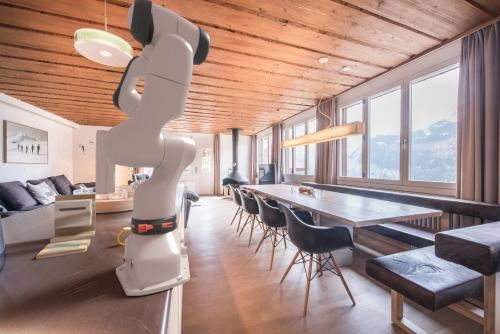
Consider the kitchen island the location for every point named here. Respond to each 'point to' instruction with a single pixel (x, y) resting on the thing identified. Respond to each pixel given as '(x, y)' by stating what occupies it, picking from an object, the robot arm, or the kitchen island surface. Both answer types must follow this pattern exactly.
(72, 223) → the mounted unit
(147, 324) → the kitchen island surface
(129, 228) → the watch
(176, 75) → the robot arm
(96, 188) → the white tall cylinder
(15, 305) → the kitchen island surface
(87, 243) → the dock pad
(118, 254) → the kitchen island surface
